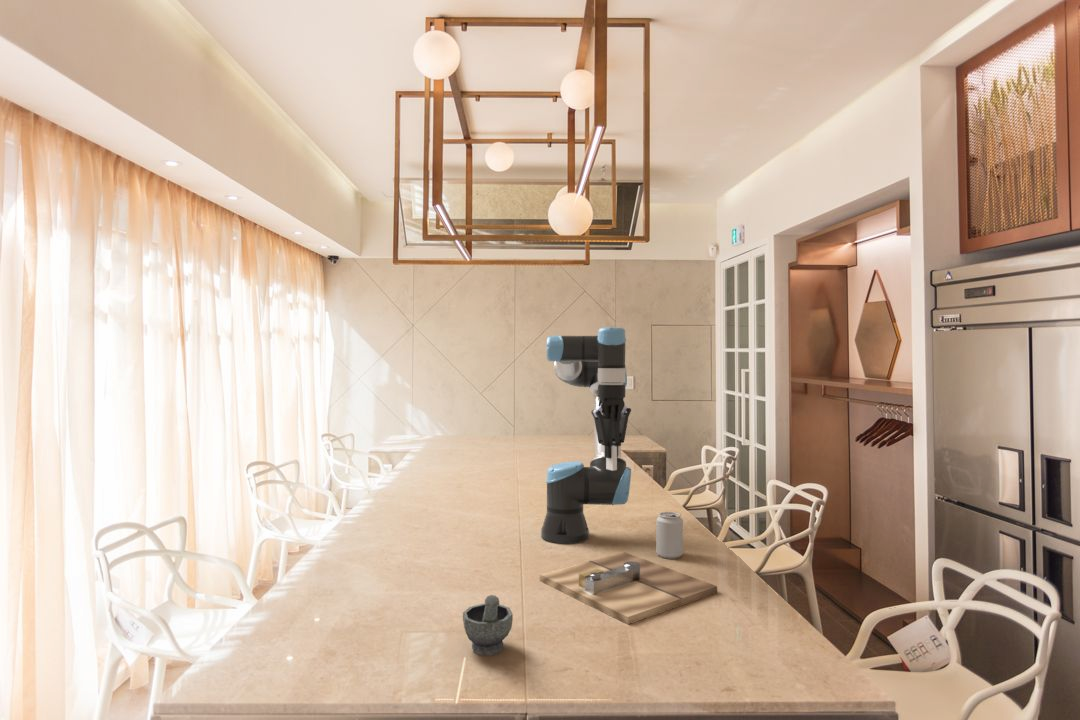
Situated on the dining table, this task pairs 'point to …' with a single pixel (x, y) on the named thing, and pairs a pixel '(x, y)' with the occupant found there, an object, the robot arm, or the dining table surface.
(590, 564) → the door board
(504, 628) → the mortar and pestle
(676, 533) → the can
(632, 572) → the bar
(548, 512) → the robot arm
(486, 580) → the dining table surface
